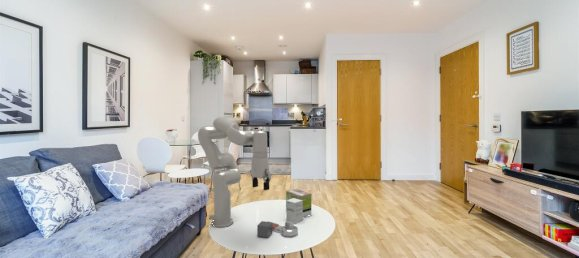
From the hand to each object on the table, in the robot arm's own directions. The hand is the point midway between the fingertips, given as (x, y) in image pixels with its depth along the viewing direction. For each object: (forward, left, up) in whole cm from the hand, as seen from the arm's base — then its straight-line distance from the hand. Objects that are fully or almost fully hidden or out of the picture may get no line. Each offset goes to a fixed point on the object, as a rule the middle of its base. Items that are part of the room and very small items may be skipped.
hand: (260, 188), depth 135 cm
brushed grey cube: (+1, +5, -26) cm, 26 cm away
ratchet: (+7, +12, -26) cm, 29 cm away
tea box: (+10, +41, -26) cm, 50 cm away
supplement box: (+10, +29, -26) cm, 41 cm away
